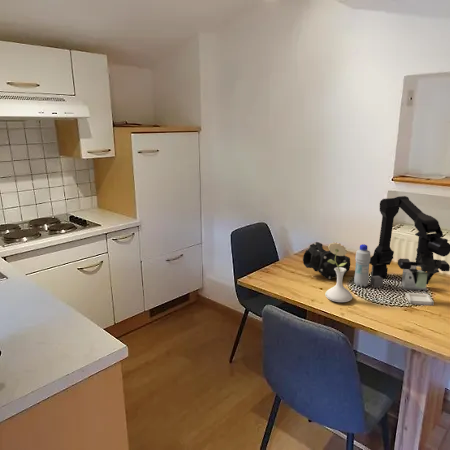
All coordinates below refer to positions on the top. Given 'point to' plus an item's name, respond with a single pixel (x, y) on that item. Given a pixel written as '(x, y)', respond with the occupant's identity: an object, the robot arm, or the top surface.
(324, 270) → the valve
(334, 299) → the flower in vase
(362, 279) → the bottle
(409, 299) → the tray
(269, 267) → the top surface
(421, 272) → the pale green rounded cylinder
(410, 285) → the block
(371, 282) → the grey block
